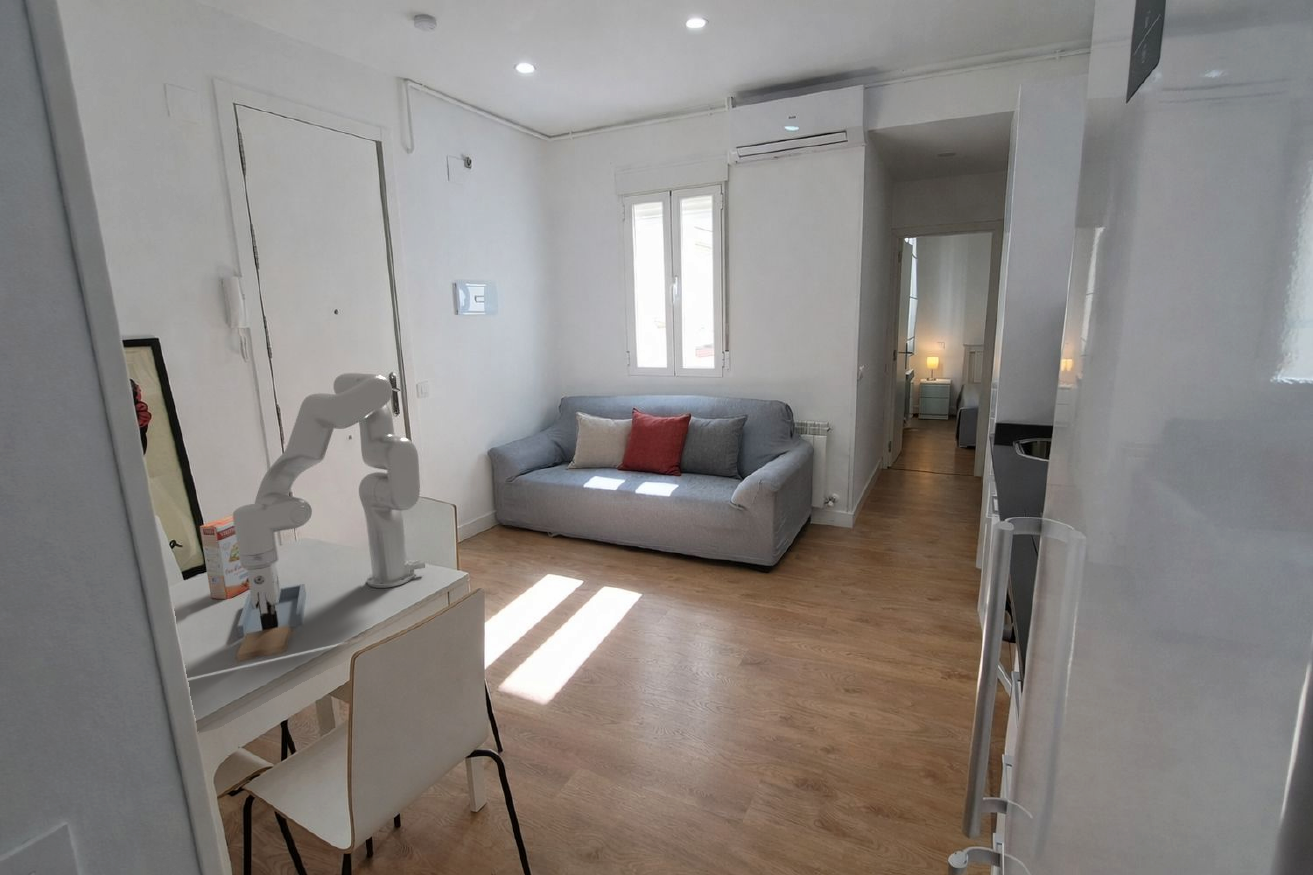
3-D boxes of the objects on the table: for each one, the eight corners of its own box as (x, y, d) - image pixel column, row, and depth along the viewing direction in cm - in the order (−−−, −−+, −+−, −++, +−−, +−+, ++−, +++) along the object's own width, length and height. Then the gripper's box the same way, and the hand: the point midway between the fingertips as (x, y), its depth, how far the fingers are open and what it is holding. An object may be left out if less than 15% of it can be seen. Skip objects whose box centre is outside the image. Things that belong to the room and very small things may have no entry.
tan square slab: (291, 634, 147) (290, 624, 147) (285, 655, 138) (284, 645, 138) (247, 642, 144) (246, 633, 143) (238, 664, 135) (236, 654, 134)
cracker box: (229, 600, 164) (216, 527, 160) (210, 599, 165) (197, 526, 161) (271, 578, 178) (260, 510, 173) (253, 577, 179) (242, 509, 175)
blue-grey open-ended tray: (306, 595, 167) (304, 583, 166) (302, 626, 150) (300, 613, 149) (250, 606, 161) (248, 594, 160) (239, 639, 144) (237, 626, 144)
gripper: (274, 564, 138) (286, 638, 142) (280, 543, 151) (290, 611, 155) (235, 571, 134) (248, 647, 138) (244, 549, 148) (256, 618, 151)
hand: (270, 628), depth 146 cm, fingers closed
